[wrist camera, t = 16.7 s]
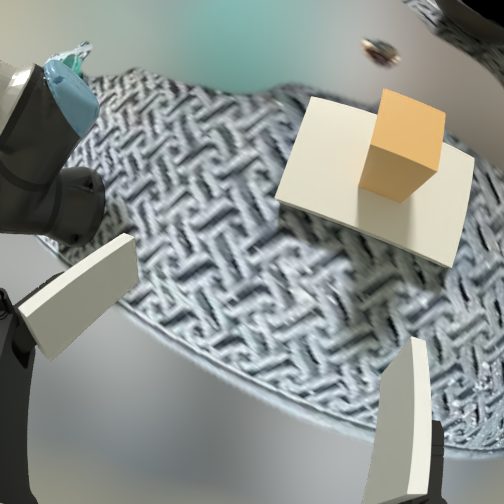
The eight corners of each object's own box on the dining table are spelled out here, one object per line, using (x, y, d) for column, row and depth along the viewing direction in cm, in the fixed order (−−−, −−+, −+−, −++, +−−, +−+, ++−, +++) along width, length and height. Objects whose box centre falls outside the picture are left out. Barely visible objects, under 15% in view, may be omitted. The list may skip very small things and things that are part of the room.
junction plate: (279, 203, 33) (261, 186, 25) (313, 107, 32) (306, 70, 24) (442, 266, 27) (472, 269, 19) (465, 165, 26) (494, 142, 18)
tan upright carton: (357, 186, 28) (370, 144, 16) (369, 145, 27) (383, 88, 16) (400, 203, 26) (437, 171, 15) (410, 162, 26) (445, 113, 15)
